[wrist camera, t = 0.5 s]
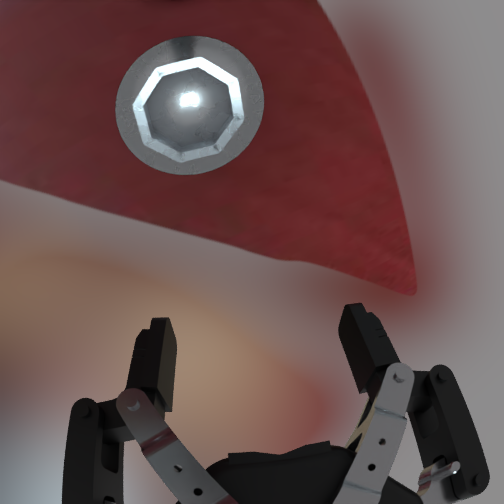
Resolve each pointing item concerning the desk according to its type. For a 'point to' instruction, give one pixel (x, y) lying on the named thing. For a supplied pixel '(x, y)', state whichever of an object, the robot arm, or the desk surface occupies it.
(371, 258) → the desk surface
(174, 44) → the steel collar
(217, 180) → the desk surface
